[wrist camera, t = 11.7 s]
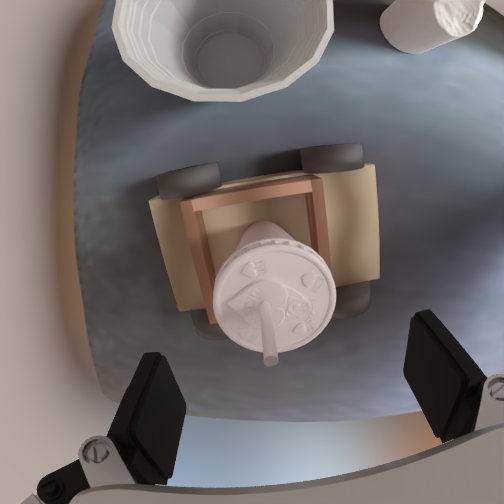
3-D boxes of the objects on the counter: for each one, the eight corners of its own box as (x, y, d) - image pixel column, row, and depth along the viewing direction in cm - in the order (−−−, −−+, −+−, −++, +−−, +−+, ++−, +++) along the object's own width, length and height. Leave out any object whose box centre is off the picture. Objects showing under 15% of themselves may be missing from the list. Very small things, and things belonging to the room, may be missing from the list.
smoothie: (226, 200, 23) (200, 280, 10) (309, 207, 23) (385, 289, 10) (222, 278, 25) (202, 410, 12) (299, 282, 25) (343, 410, 12)
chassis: (361, 141, 24) (388, 142, 19) (370, 284, 28) (392, 312, 23) (152, 175, 24) (130, 183, 19) (188, 314, 29) (178, 348, 24)
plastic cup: (308, 112, 23) (361, 89, 12) (178, 134, 23) (123, 128, 12) (285, 1, 19) (311, -77, 8) (161, 22, 20) (109, -44, 8)
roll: (470, 19, 10) (431, -53, 8) (390, 56, 21) (368, 5, 19) (520, 28, 9) (488, -37, 7) (438, 53, 20) (417, 5, 18)
